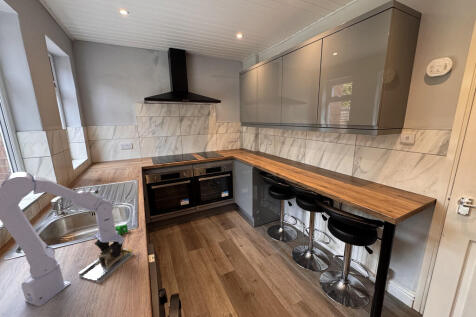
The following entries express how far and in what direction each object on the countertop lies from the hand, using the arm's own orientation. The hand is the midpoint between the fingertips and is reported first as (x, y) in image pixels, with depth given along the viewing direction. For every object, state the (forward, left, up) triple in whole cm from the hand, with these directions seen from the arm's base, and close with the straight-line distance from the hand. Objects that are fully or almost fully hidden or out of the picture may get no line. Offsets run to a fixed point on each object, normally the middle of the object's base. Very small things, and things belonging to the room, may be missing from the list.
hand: (112, 255), depth 83 cm
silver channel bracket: (-2, 0, -3) cm, 4 cm away
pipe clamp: (+15, +16, -3) cm, 22 cm away
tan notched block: (0, 0, -2) cm, 2 cm away
